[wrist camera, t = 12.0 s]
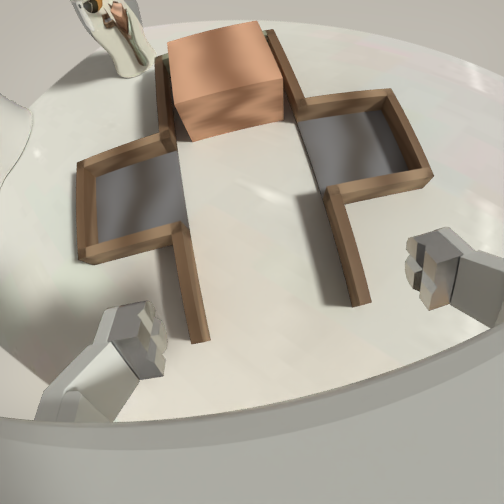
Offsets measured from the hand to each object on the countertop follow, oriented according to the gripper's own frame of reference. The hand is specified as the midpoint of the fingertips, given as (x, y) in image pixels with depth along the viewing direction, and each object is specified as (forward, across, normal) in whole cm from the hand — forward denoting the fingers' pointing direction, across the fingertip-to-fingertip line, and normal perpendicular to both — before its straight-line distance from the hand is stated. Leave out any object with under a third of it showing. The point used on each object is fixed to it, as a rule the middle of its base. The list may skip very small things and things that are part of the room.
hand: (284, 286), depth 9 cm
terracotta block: (+30, 0, -3) cm, 31 cm away
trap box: (+24, 0, +3) cm, 24 cm away
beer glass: (+39, +11, -12) cm, 42 cm away
